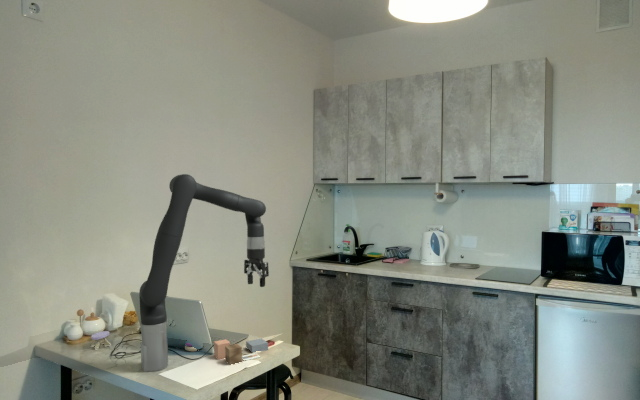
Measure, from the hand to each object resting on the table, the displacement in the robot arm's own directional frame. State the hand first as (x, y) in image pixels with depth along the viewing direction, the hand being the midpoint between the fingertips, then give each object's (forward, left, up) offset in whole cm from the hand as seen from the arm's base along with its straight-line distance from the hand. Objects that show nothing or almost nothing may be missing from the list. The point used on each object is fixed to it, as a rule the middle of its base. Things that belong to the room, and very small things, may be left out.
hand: (256, 285), depth 191 cm
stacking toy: (-24, +13, -27) cm, 38 cm away
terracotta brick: (-17, -3, -26) cm, 31 cm away
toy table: (-58, +40, -27) cm, 75 cm away
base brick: (-2, -3, -26) cm, 26 cm away
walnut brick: (-15, -11, -26) cm, 32 cm away
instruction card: (-8, -10, -26) cm, 29 cm away
